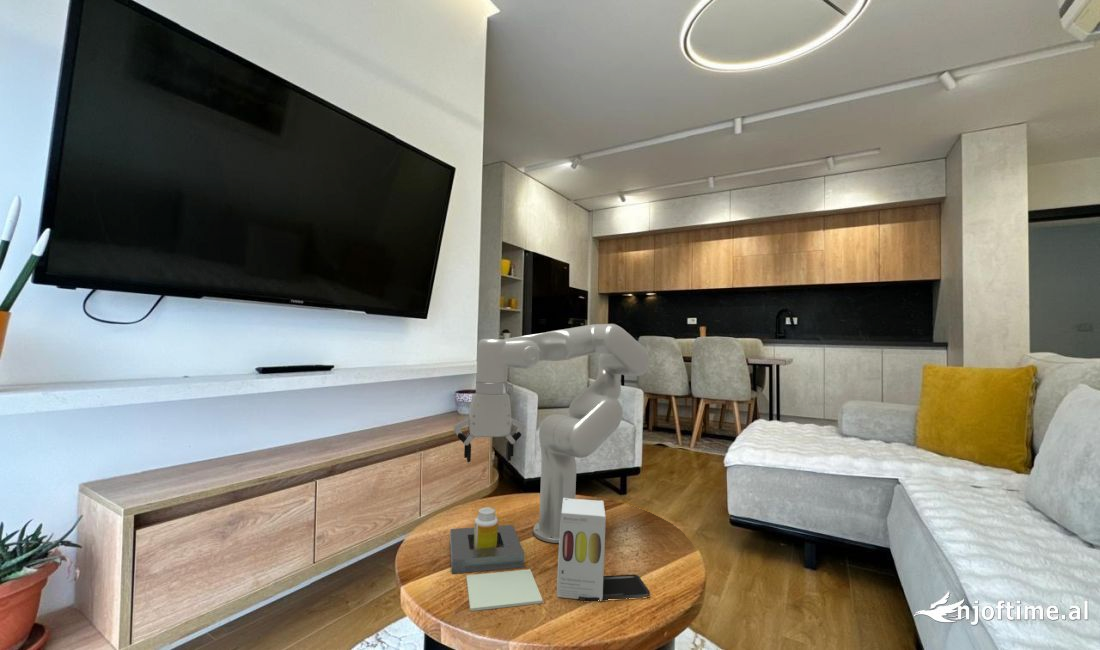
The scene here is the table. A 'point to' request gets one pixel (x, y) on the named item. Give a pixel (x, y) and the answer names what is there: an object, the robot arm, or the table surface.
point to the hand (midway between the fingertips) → (488, 460)
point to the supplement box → (581, 549)
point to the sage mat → (502, 590)
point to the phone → (621, 588)
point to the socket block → (485, 551)
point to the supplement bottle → (485, 529)
